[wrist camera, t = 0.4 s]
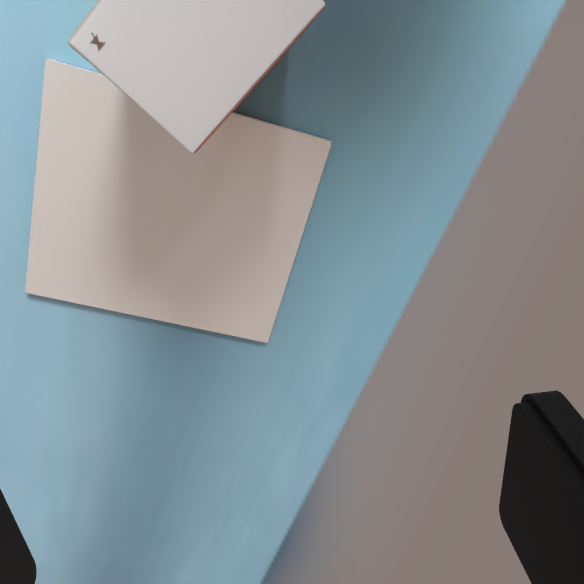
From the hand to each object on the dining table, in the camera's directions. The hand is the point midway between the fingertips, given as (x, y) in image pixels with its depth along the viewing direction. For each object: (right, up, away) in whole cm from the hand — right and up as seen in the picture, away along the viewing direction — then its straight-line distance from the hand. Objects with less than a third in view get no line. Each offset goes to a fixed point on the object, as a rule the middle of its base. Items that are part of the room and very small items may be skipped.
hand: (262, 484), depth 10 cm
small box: (-4, +19, +23) cm, 30 cm away
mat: (-8, +9, +28) cm, 30 cm away
